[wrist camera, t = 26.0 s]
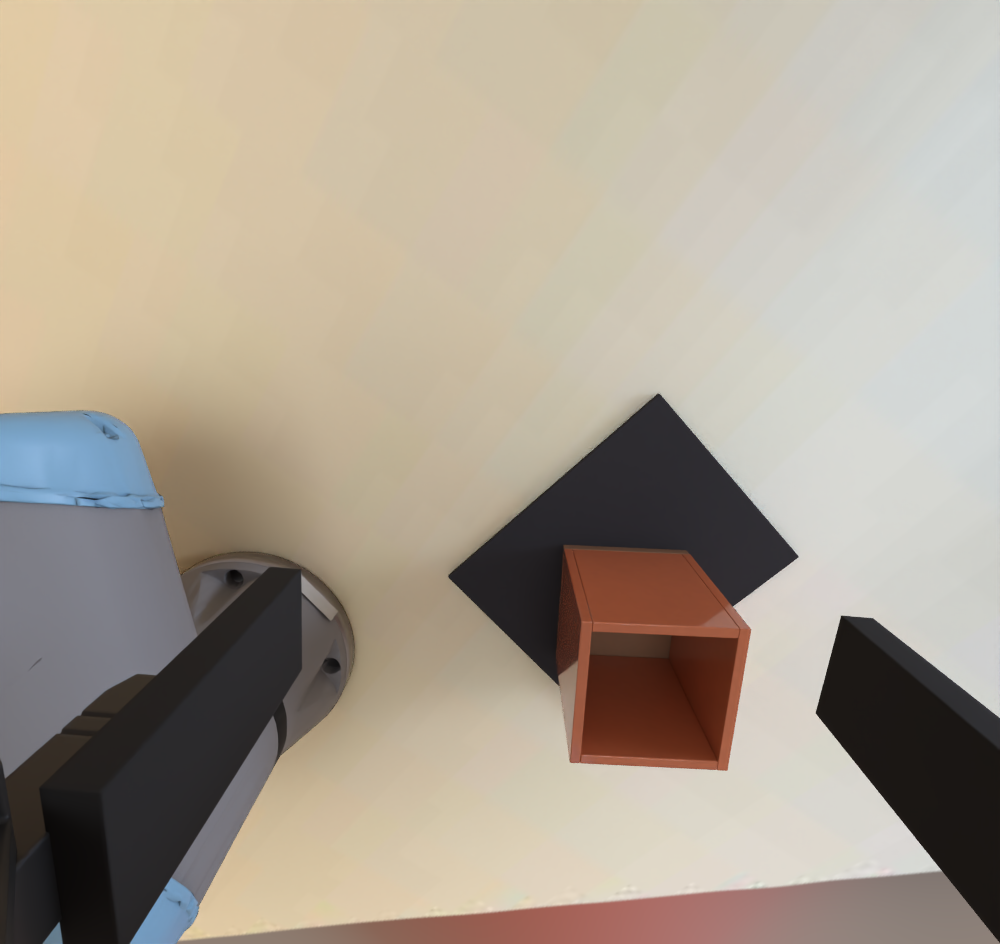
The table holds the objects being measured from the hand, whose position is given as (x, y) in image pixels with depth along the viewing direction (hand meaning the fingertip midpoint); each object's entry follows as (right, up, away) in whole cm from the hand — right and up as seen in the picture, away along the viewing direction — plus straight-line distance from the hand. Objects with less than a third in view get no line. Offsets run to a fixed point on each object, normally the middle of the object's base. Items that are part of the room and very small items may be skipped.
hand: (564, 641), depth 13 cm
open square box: (+7, -11, +23) cm, 27 cm away
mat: (+7, -3, +27) cm, 28 cm away
